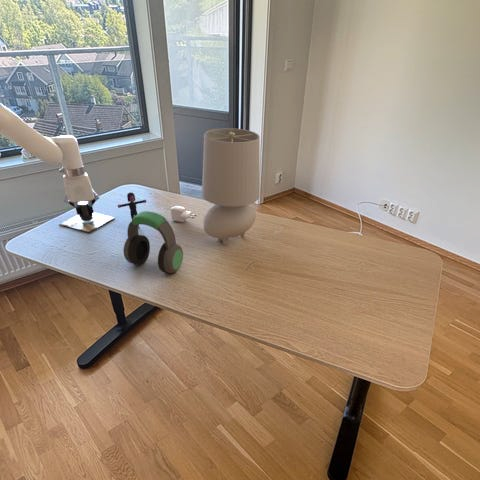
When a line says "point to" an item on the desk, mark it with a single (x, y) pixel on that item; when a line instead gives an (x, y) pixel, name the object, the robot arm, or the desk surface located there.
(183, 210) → the power adapter
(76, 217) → the board
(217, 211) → the table lamp
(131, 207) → the figurine
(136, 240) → the headphones
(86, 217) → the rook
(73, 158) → the robot arm
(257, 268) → the desk surface
